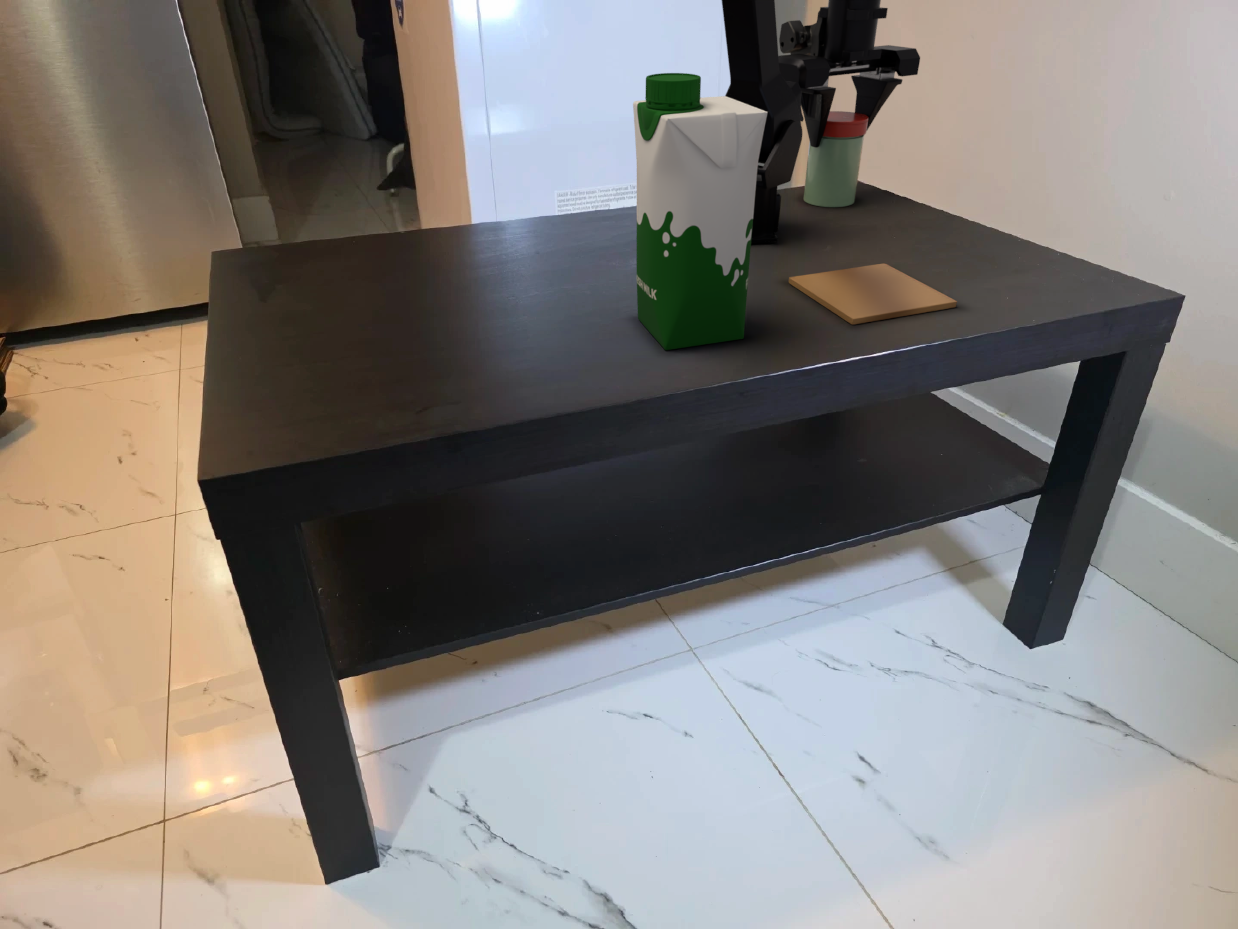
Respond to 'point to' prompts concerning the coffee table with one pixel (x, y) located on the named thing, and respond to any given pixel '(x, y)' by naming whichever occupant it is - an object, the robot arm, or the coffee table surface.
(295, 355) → the coffee table surface
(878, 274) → the coaster
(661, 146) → the milk carton
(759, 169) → the robot arm
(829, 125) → the lid
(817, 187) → the jar
